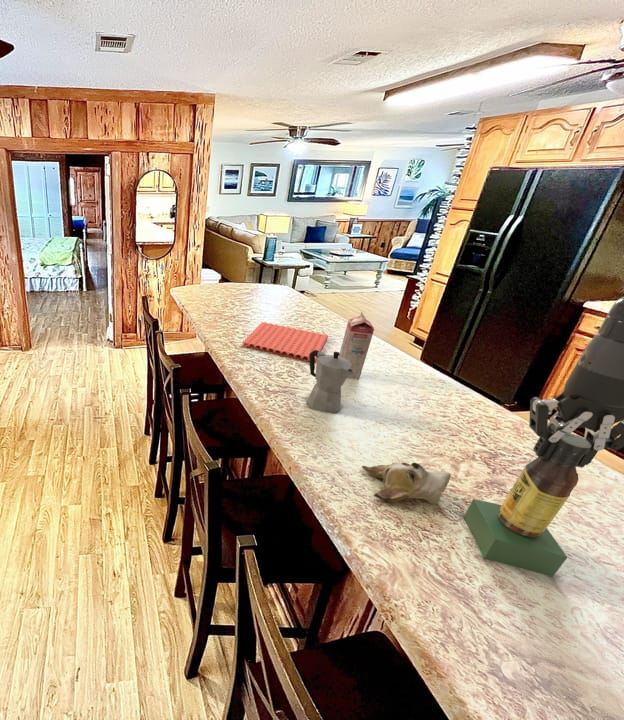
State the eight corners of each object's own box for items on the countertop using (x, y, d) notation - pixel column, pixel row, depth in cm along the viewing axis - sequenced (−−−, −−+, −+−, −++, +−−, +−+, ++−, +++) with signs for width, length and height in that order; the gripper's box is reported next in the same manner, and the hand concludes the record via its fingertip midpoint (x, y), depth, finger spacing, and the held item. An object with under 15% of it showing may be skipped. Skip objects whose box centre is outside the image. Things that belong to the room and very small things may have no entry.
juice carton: (338, 376, 133) (354, 316, 124) (335, 368, 139) (351, 310, 130) (359, 379, 132) (377, 319, 122) (355, 371, 137) (372, 312, 128)
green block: (522, 534, 76) (536, 512, 73) (550, 580, 67) (567, 557, 64) (461, 520, 78) (473, 498, 76) (481, 562, 70) (495, 539, 67)
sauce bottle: (499, 506, 74) (550, 421, 65) (543, 527, 70) (603, 439, 61) (491, 524, 70) (544, 435, 62) (537, 547, 66) (601, 456, 57)
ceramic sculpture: (466, 485, 75) (380, 475, 78) (453, 518, 78) (371, 507, 82) (441, 451, 84) (366, 444, 88) (430, 482, 88) (358, 474, 91)
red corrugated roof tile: (315, 363, 142) (316, 358, 141) (241, 346, 155) (242, 341, 154) (327, 339, 164) (328, 334, 163) (261, 325, 177) (262, 321, 176)
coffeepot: (352, 414, 113) (369, 358, 105) (328, 421, 109) (344, 364, 101) (312, 389, 125) (325, 338, 117) (290, 394, 122) (301, 342, 114)
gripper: (569, 371, 55) (516, 464, 62) (706, 389, 51) (631, 487, 58) (540, 350, 61) (495, 437, 69) (660, 365, 57) (598, 456, 65)
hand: (558, 460), depth 63 cm, fingers closed on sauce bottle, 4 cm apart
